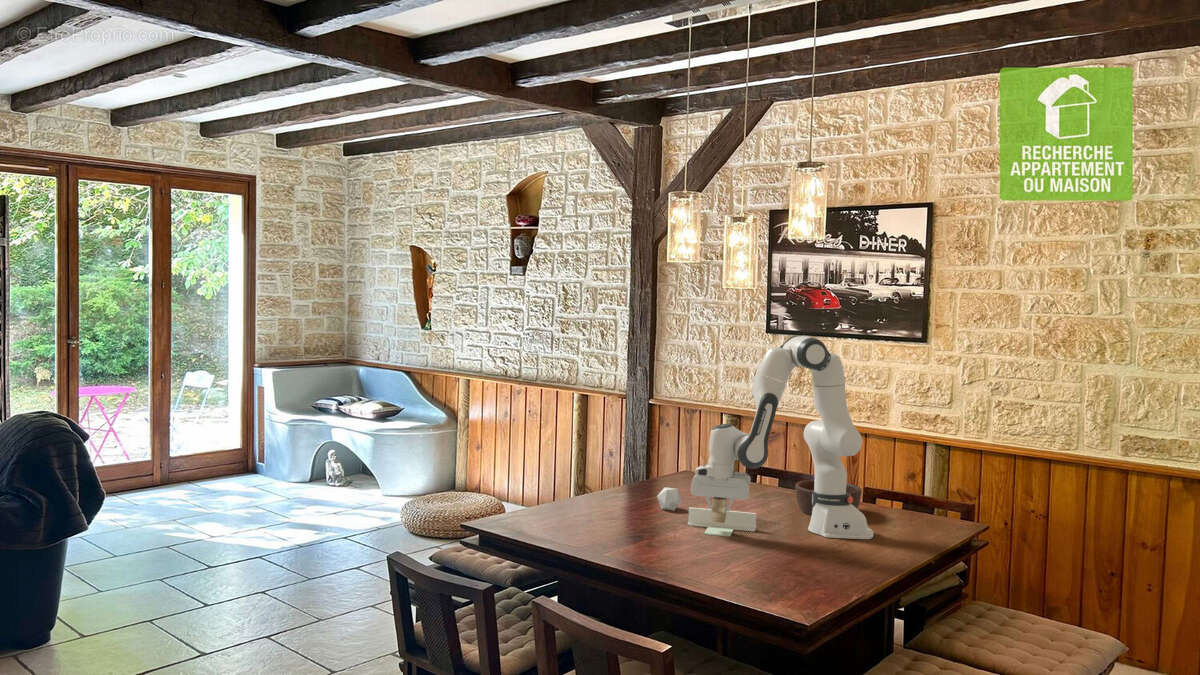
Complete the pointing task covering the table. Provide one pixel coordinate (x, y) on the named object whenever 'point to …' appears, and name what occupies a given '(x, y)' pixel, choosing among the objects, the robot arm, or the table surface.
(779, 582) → the table surface
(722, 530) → the sage mat
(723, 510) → the birch block
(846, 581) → the table surface
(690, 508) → the white shelf
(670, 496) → the die
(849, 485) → the wooden bowl
